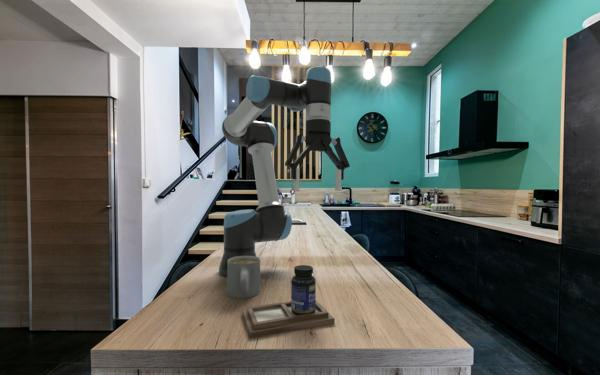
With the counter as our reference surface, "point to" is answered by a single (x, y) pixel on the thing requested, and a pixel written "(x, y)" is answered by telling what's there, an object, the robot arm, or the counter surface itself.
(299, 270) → the pill bottle
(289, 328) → the divided wooden tray
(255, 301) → the counter surface
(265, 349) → the counter surface
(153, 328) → the counter surface
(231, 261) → the coffee mug
